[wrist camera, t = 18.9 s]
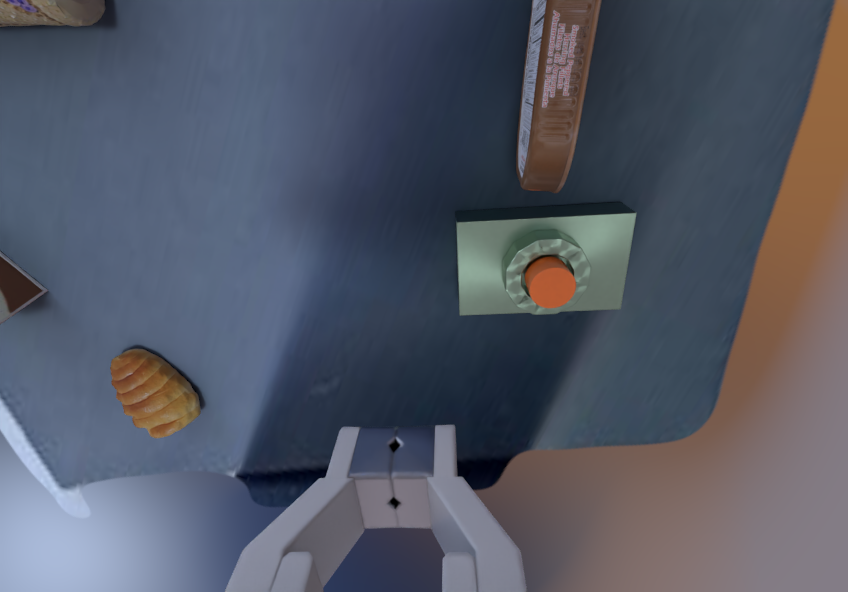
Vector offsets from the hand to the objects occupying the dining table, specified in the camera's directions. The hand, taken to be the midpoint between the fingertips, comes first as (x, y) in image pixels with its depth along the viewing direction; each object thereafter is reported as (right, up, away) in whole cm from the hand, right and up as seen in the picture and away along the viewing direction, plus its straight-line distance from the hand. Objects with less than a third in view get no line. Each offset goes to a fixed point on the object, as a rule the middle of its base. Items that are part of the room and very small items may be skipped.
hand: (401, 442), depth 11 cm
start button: (+10, +5, +20) cm, 23 cm away
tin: (+9, +20, +18) cm, 28 cm away
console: (+10, +7, +24) cm, 27 cm away
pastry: (-27, -6, +33) cm, 42 cm away
